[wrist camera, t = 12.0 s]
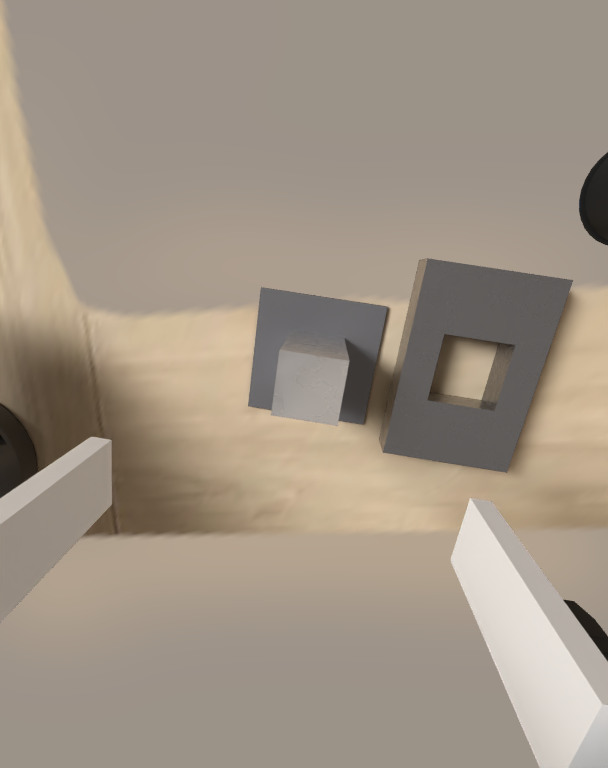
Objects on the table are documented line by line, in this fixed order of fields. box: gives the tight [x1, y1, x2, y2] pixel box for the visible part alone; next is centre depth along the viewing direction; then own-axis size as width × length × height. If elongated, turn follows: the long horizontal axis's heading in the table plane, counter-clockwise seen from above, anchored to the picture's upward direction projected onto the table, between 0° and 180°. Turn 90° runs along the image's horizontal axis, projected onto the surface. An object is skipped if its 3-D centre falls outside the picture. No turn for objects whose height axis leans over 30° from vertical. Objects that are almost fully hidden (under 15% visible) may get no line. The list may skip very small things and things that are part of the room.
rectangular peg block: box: [271, 330, 349, 426], centre depth 31 cm, size 5×5×10 cm
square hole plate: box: [379, 259, 573, 473], centre depth 34 cm, size 12×18×3 cm, turn 172°
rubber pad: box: [248, 288, 388, 424], centre depth 36 cm, size 12×12×1 cm
